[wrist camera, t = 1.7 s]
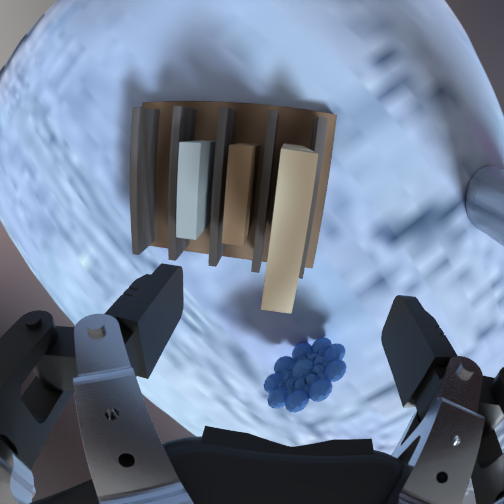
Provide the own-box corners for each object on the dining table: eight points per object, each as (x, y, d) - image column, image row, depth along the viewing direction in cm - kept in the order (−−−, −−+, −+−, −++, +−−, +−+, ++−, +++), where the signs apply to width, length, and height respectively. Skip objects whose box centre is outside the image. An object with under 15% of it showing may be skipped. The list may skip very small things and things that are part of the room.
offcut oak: (260, 144, 30) (252, 147, 23) (252, 223, 33) (243, 246, 27) (241, 143, 30) (229, 144, 23) (234, 221, 33) (221, 243, 27)
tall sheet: (302, 145, 29) (318, 153, 14) (290, 233, 33) (291, 313, 18) (284, 142, 29) (280, 148, 15) (273, 230, 33) (260, 309, 19)
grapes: (279, 373, 44) (274, 434, 33) (261, 344, 42) (251, 407, 31) (348, 351, 41) (360, 413, 30) (336, 319, 39) (348, 382, 28)
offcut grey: (219, 141, 30) (200, 143, 24) (213, 219, 34) (196, 239, 27) (201, 140, 30) (179, 142, 24) (197, 217, 34) (176, 237, 27)
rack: (334, 115, 29) (345, 110, 23) (311, 263, 36) (315, 288, 30) (148, 103, 30) (120, 99, 24) (145, 240, 37) (121, 259, 31)
